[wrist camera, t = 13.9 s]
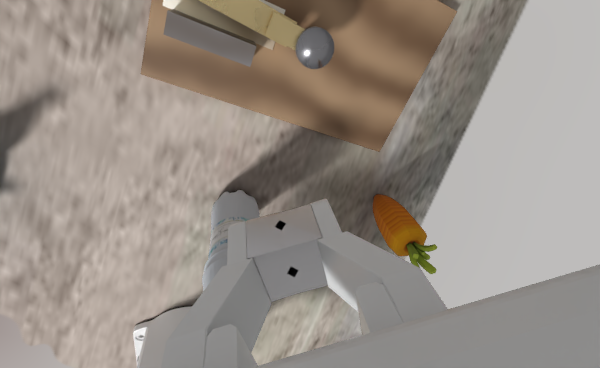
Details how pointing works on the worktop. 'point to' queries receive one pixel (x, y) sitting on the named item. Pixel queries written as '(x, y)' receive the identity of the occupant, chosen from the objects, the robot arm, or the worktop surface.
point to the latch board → (291, 72)
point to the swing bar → (280, 29)
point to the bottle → (226, 228)
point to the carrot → (402, 231)
